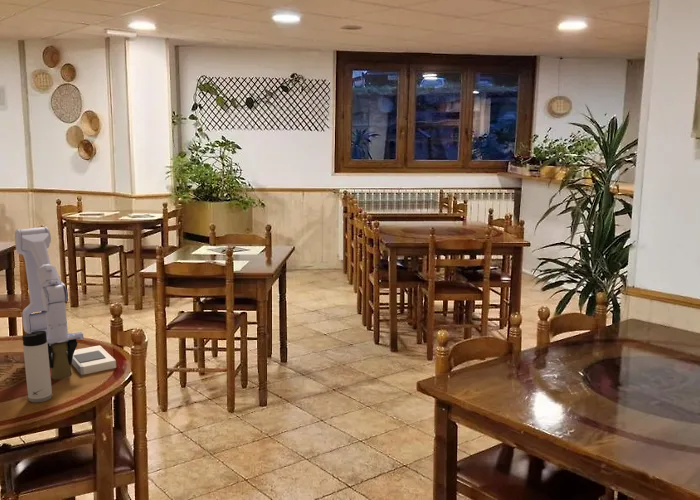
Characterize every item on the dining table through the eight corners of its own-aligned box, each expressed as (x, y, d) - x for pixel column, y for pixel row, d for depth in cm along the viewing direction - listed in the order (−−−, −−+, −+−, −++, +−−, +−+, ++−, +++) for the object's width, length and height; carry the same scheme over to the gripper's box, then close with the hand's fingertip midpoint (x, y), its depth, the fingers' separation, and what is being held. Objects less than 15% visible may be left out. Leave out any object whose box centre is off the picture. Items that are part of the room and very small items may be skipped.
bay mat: (73, 356, 224) (73, 355, 224) (98, 351, 229) (98, 350, 229) (80, 363, 218) (79, 362, 218) (105, 358, 222) (105, 357, 222)
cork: (64, 380, 210) (61, 345, 208) (46, 378, 212) (43, 344, 210) (75, 372, 216) (73, 339, 214) (58, 371, 217) (55, 338, 215)
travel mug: (37, 404, 193) (31, 336, 189) (23, 399, 196) (17, 332, 192) (57, 397, 198) (51, 330, 194) (43, 392, 201) (37, 326, 197)
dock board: (67, 358, 229) (66, 351, 228) (100, 352, 235) (99, 344, 235) (81, 375, 215) (80, 367, 214) (116, 367, 221) (115, 360, 220)
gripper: (34, 330, 203) (38, 374, 206) (84, 322, 212) (88, 364, 214) (29, 325, 209) (33, 367, 212) (78, 316, 217) (82, 357, 220)
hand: (60, 365), depth 213 cm, fingers closed on cork, 5 cm apart
